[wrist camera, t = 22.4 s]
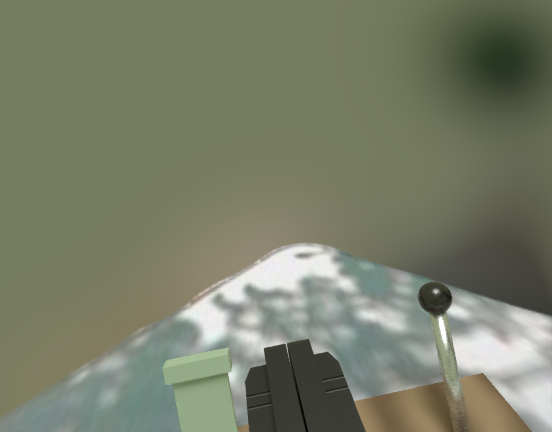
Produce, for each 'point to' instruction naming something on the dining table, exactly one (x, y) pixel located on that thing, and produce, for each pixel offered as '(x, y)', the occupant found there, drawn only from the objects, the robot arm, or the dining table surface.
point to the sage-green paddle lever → (203, 391)
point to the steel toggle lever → (445, 350)
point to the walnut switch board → (437, 409)
